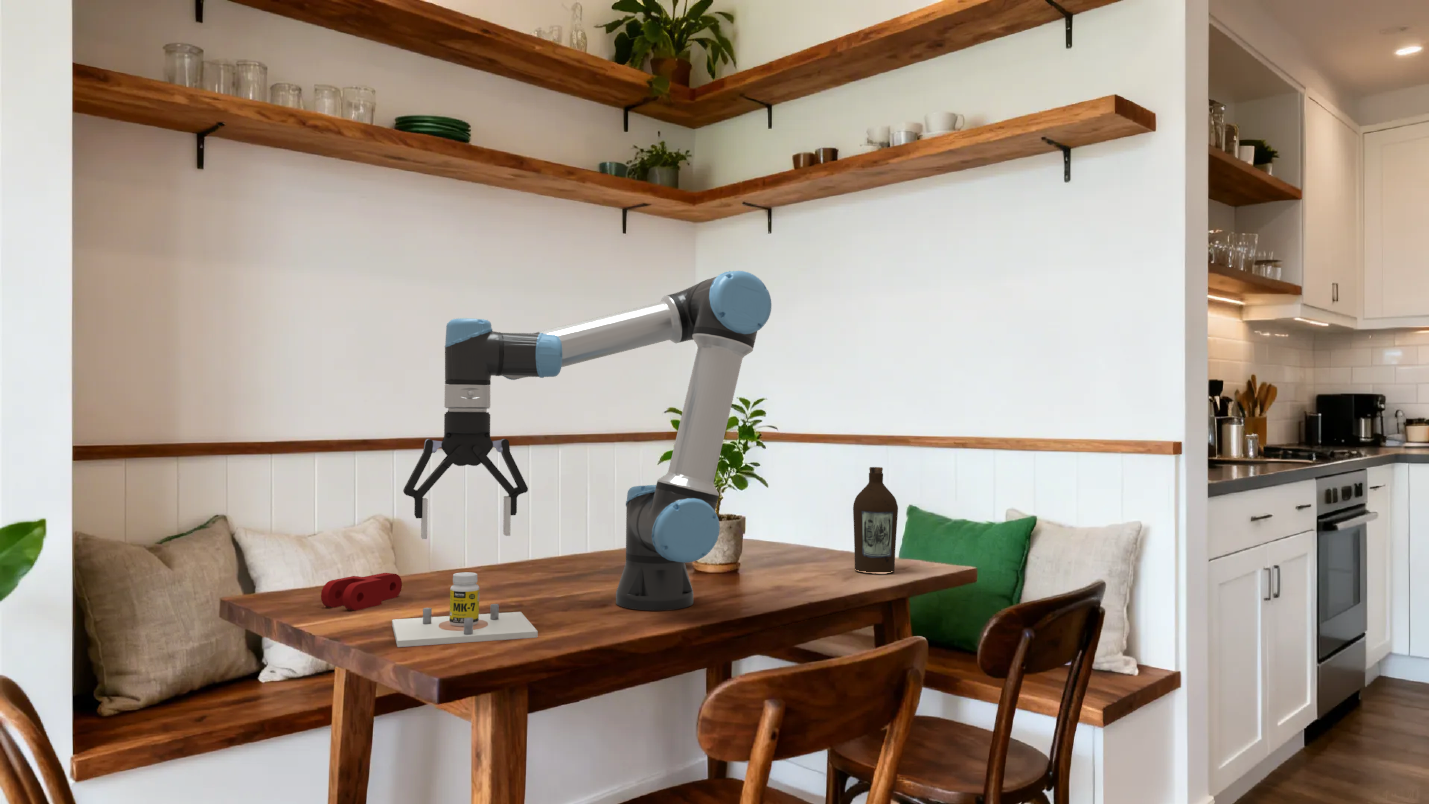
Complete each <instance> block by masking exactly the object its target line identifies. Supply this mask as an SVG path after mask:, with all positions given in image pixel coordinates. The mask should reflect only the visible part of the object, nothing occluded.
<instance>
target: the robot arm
mask: <svg viewBox="0 0 1429 804" xmlns="http://www.w3.org/2000/svg"><path fill="white" fill-rule="evenodd" d="M771 313H772V299H771V295H770V292H769V289H768V288H767V287H766V285H765V283H764V282H763V281H762V279H760V278H759V277H757V276H756V275H755V274H753V273H751V272H749V271H744V270H733V271H731V270H729V271H724V272H722V273H720V274H718V275H717V276H714V277H711V278H708V279H705V280H703V281H701V282H698V283H696V284H694V285H692V286H690V287H688V288H686V289H682V290H680V291H678V292H675V293H671V294H667V295H664V296H663V297H662V298H661V300H660V302H656V303H651V304H648V305H642V306H640V307H635V308H631V309H628V310H627V309H626V310H624V311H623V310H622V311H617V312H615V313H611V314H610V313H609V314H606V315H602V316H599V317H594V318H589V319H585V320H582V321H577V322H573V323H569V324H567V325H566V324H565V325H562V326H558V327H553V328H548V329H544V330H540V331H537V332H533V333H531V332H530V333H527V332H500V331H494V330H493V328H492V323H491V321H489V320H488V319H484V318H467V317H463V318H459V317H458V318H453V319H451V320H449V321H448V322H447V323H446V327H445V343H444V344H445V345H444V384H445V385H444V406H443V407H444V408H445V409H447V411H446V412H445V413H444V415H443V416H444V421H443V422H444V423H443V426H444V427H443V428H444V430H443V431H444V432H443V438H442V440H432V439H430V438H427V439H425V440H424V443H423V451H422V454H421V456H420V457H419V459H418V461H417V463H416V465H415V467H414V468H413V471H412V473H411V475H410V476H409V478H408V480H407V482H406V484H405V485H404V488H403V491H402V492H403V493H404V495H406V496H408V497H410V498H413V499H414V508H413V509H414V517H415V519H421V520H420V521H421V523H420V527H421V528H420V538H421V539H422V540H427V539H428V506H429V505H428V501H429V500H428V498H427V497H424V496H425V495H426V494H427V493H428V492H429V491H430V490H431V488H432V487H433V486H434V485H435V484H436V483H437V482H438V480H440V478H441V477H442V476H443V475H444V474H445V472H446V471H447V470H448V469H449V468H451V466H452V465H455V466H458V467H464V466H467V465H468V466H472V467H478V466H479V465H481V464H482V466H484V468H485V469H486V470H487V471H488V472H489V473H490V475H491V476H492V477H493V478H494V480H496V482H498V484H500V487H502V488H503V490H504V491H505V492H506V494H508V495H505V496H503V522H502V523H503V525H502V527H503V530H502V531H503V532H502V533H503V535H504V536H506V537H510V536H511V521H512V519H511V517H512V516H516V515H517V513H518V511H517V510H518V505H517V504H518V497H519V495H522V494H525V493H528V491H529V487H528V485H527V483H526V480H525V479H524V477H523V476H522V475H523V474H522V473H521V471H520V469H519V467H518V465H517V463H516V461H515V459H514V457H513V454H512V453H511V449H510V448H511V447H510V441H509V440H508V439H507V438H501V439H498V440H492V438H491V414H490V412H488V411H487V410H488V409H490V408H491V385H492V384H491V383H492V382H491V379H492V376H494V377H504V378H505V379H507V380H511V381H515V380H519V379H524V378H542V379H543V378H554V377H555V378H556V377H558V375H559V374H560V372H561V371H562V368H563V367H567V366H571V365H576V364H580V363H583V362H588V361H592V360H595V359H599V358H603V357H604V358H605V357H607V356H612V355H616V354H618V353H623V352H628V351H630V350H636V349H638V348H642V347H646V346H650V345H654V344H655V345H656V344H659V343H661V342H667V341H671V342H672V343H674V344H678V343H683V342H687V341H688V342H689V341H694V342H695V344H696V346H697V350H696V353H695V358H694V362H693V366H692V370H691V374H690V379H689V383H688V386H687V392H686V395H685V396H686V397H685V400H684V404H683V407H682V412H681V417H680V421H679V424H678V430H677V434H676V437H675V442H674V446H673V450H672V455H671V458H670V461H669V466H668V467H669V468H668V470H667V473H665V475H663V476H661V477H660V478H658V479H657V481H656V484H651V485H650V484H649V485H647V484H646V485H635V486H631V487H629V489H628V490H627V494H626V500H625V507H626V509H625V511H626V514H625V515H626V520H625V523H626V525H625V526H626V528H625V564H624V568H623V570H622V574H621V576H620V579H619V582H618V585H617V588H616V592H615V604H616V605H617V606H620V607H622V608H626V609H631V610H639V611H671V610H672V611H673V610H678V609H679V610H680V609H685V608H689V607H692V606H693V604H694V589H693V587H692V583H691V579H690V576H689V573H688V569H687V566H686V564H687V563H693V562H696V561H698V560H701V559H702V558H704V557H705V556H707V555H708V554H709V553H711V551H712V550H713V548H715V545H716V543H717V541H718V539H719V536H720V532H721V531H720V529H721V528H720V519H719V517H718V514H717V513H716V509H717V506H718V501H719V497H720V496H719V495H720V492H718V489H717V488H716V486H715V483H714V482H715V477H716V472H717V469H718V464H719V461H720V455H721V451H722V448H723V444H724V439H725V434H726V431H727V428H728V427H727V425H728V423H729V418H730V413H731V408H732V405H733V401H734V396H735V391H736V388H737V384H738V378H739V375H740V372H741V371H740V370H741V367H742V362H743V358H745V357H746V356H747V355H749V354H750V353H752V352H753V351H754V347H755V343H756V338H757V335H758V332H759V330H761V329H762V328H763V327H764V326H765V324H767V323H768V320H769V319H770V316H771ZM439 448H441V450H442V452H444V453H445V455H446V456H445V457H444V458H443V460H442V461H440V463H439V464H438V465H437V467H435V469H434V470H433V471H432V473H431V474H430V475H429V476H428V477H427V478H426V479H425V480H424V482H423V483H421V485H420V486H419V487H418V488H417V489H415V487H416V485H417V483H418V482H419V479H420V478H421V477H422V474H423V472H424V470H425V469H426V467H427V465H428V463H429V462H430V459H431V457H432V454H435V453H437V451H438V450H439ZM493 448H495V450H496V452H498V453H500V454H501V456H502V459H503V461H504V463H505V465H506V467H507V469H508V471H509V473H510V475H511V477H512V478H513V479H512V480H513V481H514V483H515V485H516V487H514V486H513V485H512V484H511V483H510V482H509V481H508V479H507V478H506V476H505V475H503V473H502V472H501V471H500V470H499V468H498V467H497V466H496V465H495V464H494V462H493V461H492V460H491V459H490V457H488V455H489V453H490V452H491V450H493Z"/></svg>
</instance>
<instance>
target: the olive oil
mask: <svg viewBox="0 0 1429 804" xmlns="http://www.w3.org/2000/svg"><path fill="white" fill-rule="evenodd" d="M868 470H869V472H868V483H867V484H866V486H865V487H863V489H862V490H861V491H860V492H859V493H858V494H857V495H856V497H855V499H854V501H853V504H852V505H853V507H852V511H853V512H852V514H853V515H852V517H853V540H854V541H853V542H854V543H853V544H854V545H853V546H854V570H855V569H856V570H859V571H866V572H891V571H894V572H895V567H896V565H895V563H896V544H897V529H898V527H897V526H898V516H899V515H898V513H899V505H898V502H897V499H896V497H895V496H894V495H893V493H892V492H891V491H890V490H889V489H888V487H886V485H885V484H884V473H883V470H884V468H883V467H881V466H870V467H869V468H868Z"/></svg>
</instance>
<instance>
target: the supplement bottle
mask: <svg viewBox="0 0 1429 804" xmlns="http://www.w3.org/2000/svg"><path fill="white" fill-rule="evenodd" d="M477 583H478V573H476V572H471V571H469V572H465V571H463V572H456V573H453V575H452V585H451V586H450V591H449V595H450V597H449V616H450V624H451V625H452V626H458V627H464V618H469V617H470V618H473V625H476V624H477V623H478V621H479V614H480V612H479V611H480V586H479V584H477Z"/></svg>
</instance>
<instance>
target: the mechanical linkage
mask: <svg viewBox="0 0 1429 804" xmlns="http://www.w3.org/2000/svg"><path fill="white" fill-rule="evenodd" d="M402 586H403V582H402V578H401V576H400V575H399V574H397V573H390V572H381V573H377V574H372V575H366V576H358V575H357V576H356V575H352V576H346V577H342V578H337V579H331V580H329V581H328V582H326V583H325V584H324V585H323V587H322V589H321V593H320V598H321V602H322V604H323V605H324V606H325V607H328V608H334V609H335V608H339V607H342V606H343V607H344V608H345V609H346V610H350V611H361V610H364V609H369V608H372V607H377V606H381V605H382V603H383V601H387V600H390V599H395V598H398V597H399V595H400V594H401V590H402V588H403V587H402Z"/></svg>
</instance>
